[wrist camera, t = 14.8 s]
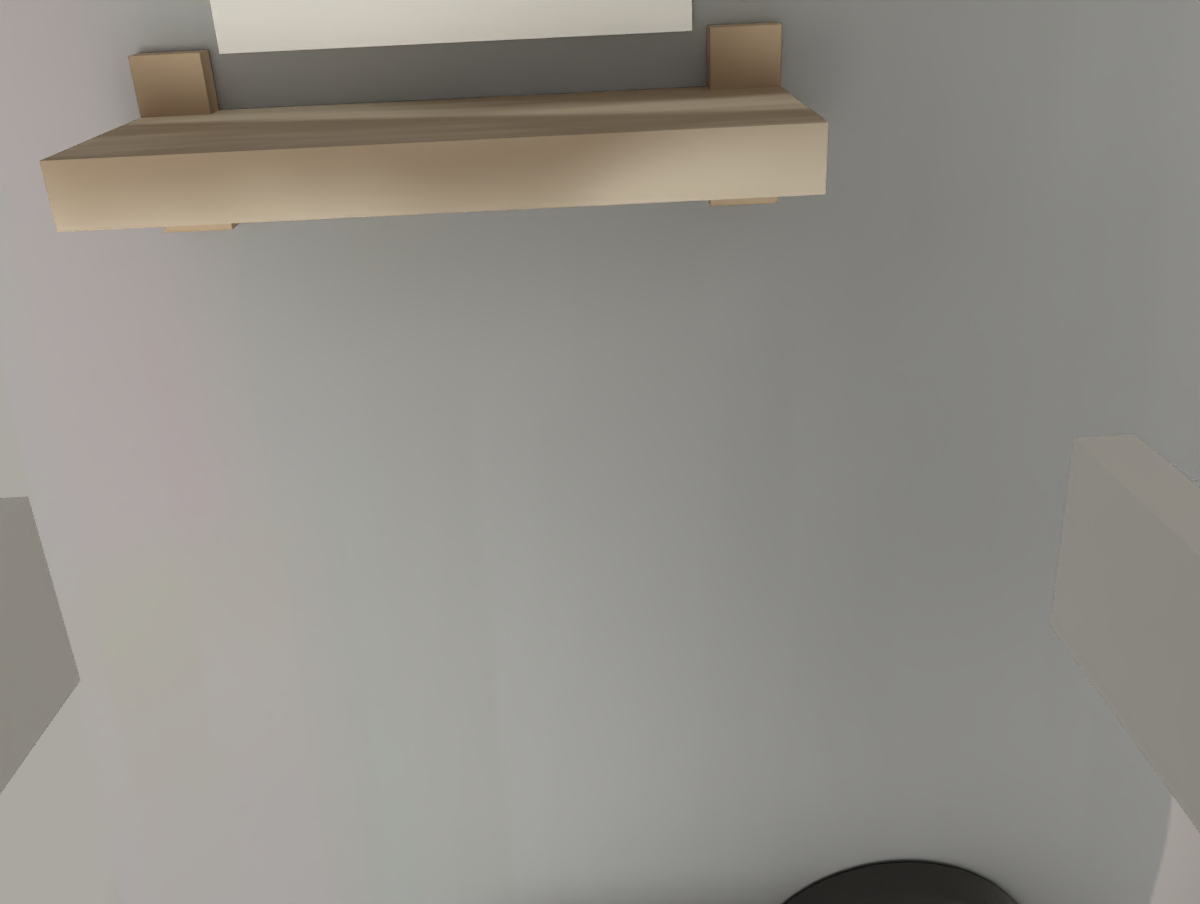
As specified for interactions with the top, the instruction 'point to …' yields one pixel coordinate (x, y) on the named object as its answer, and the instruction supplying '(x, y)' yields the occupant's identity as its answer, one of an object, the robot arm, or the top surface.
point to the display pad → (431, 21)
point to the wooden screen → (442, 149)
